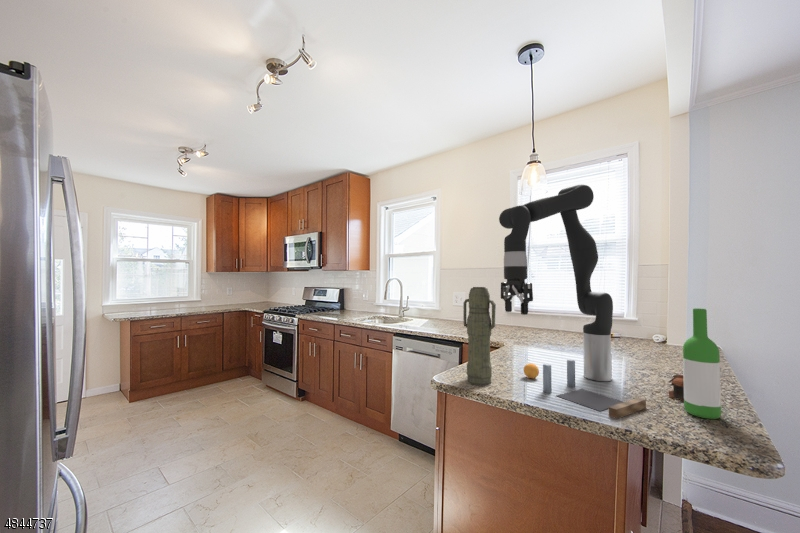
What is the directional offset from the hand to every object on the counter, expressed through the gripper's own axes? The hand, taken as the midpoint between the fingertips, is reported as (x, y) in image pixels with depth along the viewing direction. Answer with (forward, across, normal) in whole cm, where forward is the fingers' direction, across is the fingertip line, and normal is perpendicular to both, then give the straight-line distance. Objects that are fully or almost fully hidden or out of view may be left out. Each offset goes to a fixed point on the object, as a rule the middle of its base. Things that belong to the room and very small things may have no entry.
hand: (516, 313), depth 111 cm
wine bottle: (+27, -30, -40) cm, 57 cm away
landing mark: (+27, -12, -18) cm, 35 cm away
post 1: (+27, -2, -10) cm, 29 cm away
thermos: (+27, +13, +7) cm, 31 cm away
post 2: (+27, 0, -23) cm, 35 cm away
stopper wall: (+27, -22, -21) cm, 41 cm away
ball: (+24, +12, -15) cm, 31 cm away
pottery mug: (+28, -20, -50) cm, 60 cm away
